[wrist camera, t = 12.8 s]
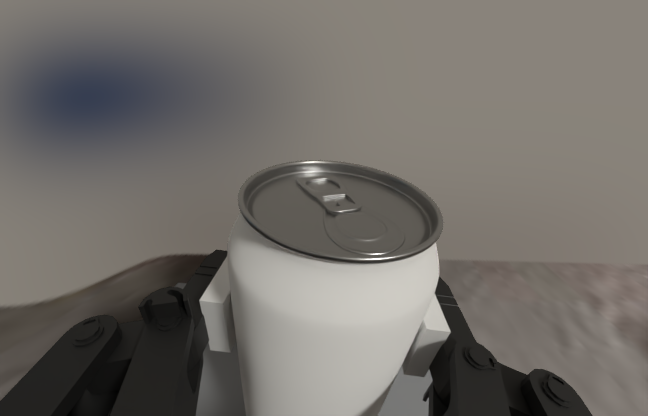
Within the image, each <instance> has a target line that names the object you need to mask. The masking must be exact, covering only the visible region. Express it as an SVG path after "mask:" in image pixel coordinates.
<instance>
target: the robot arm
mask: <svg viewBox="0 0 648 416" xmlns="http://www.w3.org/2000/svg"><path fill="white" fill-rule="evenodd" d="M453 297H454V296H453V294H452V292H451V290H450V288H449V286H448V285H447V284H446V283H445V282H444V281H443V280H442V279H441V278H440V277H439V279H438V283H437V286H436V290H435V293H434V295H433V298H432V300H431V303H430V305H429V307H428V310H427V312H426V314H425V316H424V319H423V321H422V323H421V325H420V327H419V329H418V332H417V334H416V336H415V338H414V340H413V342H412V344H411V347H410V349H409V351H408V353H407V355H406V357H405V359H404V361H403V364H402V368H403V373H404V375H411V376H418V377H425V375H426V373H427V372H428V370H430V373H431V376H432V380H433V381H432V383H431V384H430V386H429V387H428V389H427V390H426V392H425V394H424V397H423V401H425V402H426V401H427V399H428V398H429V413H428V416H592V414H591V413H590V411H589V410H588V408H587V407H586V405H585V404H584V402H583V401H582V399H581V398H580V396H579V395H578V394H577V393H576V392H575V390H574V389H573V388H572V387H571V386H570V385H569V384H567V383H566V382H565V381H564V380H563V379H561V378H560V377H558V376H557V375H555V374H553V373H552V372H549V371H546V370H543V369H534V370H533V371H532V372H530V373H529V374H528V375H526V374H524V373H521V372H519V371H516V370H514V369H512V368H509V367H507V366H505V365H502V364H501V363H499V362H497V360H496V359H495V358H494V356H493V355H492V354H491V352H490V351H488V350H487V349H486V348H485V347H484V346H482V345H480V344H479V343H477V342H476V340H475V339H474V337H473V335H472V333H471V331H470V329H469V327H468V324H467V322H466V320H465V318H464V316H463V314H462V312H461V310H460V308H459V307H458V304H457V302H456V300H455V298H453ZM138 308H139V310H140V312H141V315H142V317H143V320H140V321H133V322H127V323H121V324H118V322H117V321H116V320H115V318H114V317H113V316H108V315H99V316H94V317H91V318H88V319H85V320H84V321H82V322H80V323H78V324H76V325H75V326H73V327H72V328H71V329H70V330H69V331H67V332H66V333H65V334H64V335H63V336H62V337H61V338H60V339H59V340H58V341H57V342H56V343H55V344H54V346H53V347H52V348H51V349H50V350H49V351H48V352H47V353H46V354H45V355H44V356H43V357H42V358H41V359H40V360H39V361H38V362H37V363H36V364H35V365H34V366H33V368H32V369H31V370H30V371H29V372H28V373H27V374H26V375H25V376H24V377H23V378H22V379H21V380H20V381H19V382H18V383H17V384H16V385H15V386H14V387H13V388H12V389H11V391H10V392H9V393H8V394H7V395H6V396H5V397H4V398H3V399H2V400H1V401H0V416H196V410H197V403H198V396H199V389H200V382H201V376H202V369H203V362H204V361H203V352H204V350H205V348H206V346H207V344H208V342H209V346H210V350H213V351H221V352H229V353H231V350H232V348H233V345H234V343H235V340H236V334H235V326H234V318H233V309H232V301H231V292H230V283H229V274H228V262H227V251H222V250H215V251H214V252H213V253H211V254H210V255H208V256H207V257H206V258H205V259H204V261H203V262H202V264H201V265H200V267H199V268H198V269H197V270H196V272H195V274H194V275H193V276H192V277H191V279H190V280H189V281H188V283H187V284H186V285H185V287H184V288H183V289H182V288H179V287H167V288H163V289H159V290H157V291H155V292H153V293H151V294H150V295H149V296H147V297H146V298H145V299H144V300H143V301H142V302H141V304H140V305H139V307H138Z"/></svg>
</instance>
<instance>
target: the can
mask: <svg viewBox="0 0 648 416" xmlns="http://www.w3.org/2000/svg"><path fill="white" fill-rule="evenodd" d="M238 205H239V209H240V213H239V215H238V217H237V219H236V221H235V223H234V225H233V228H232V230H231V233H230V236H229V240H228V248H227V262H228V274H229V283H230V292H231V301H232V309H233V318H234V326H235V334H236V342H237V350H238V358H239V366H240V374H241V382H242V389H243V397H244V404H245V411H246V416H378V414H379V412H380V409H381V407H382V405H383V403H384V401H385V399H386V397H387V395H388V393H389V391H390V389H391V387H392V384H393V382H394V380H395V378H396V376H397V374H398V372H399V370H400V368H401V366H402V364H403V361H404V359H405V357H406V355H407V353H408V351H409V349H410V347H411V344H412V342H413V340H414V338H415V336H416V334H417V332H418V329H419V327H420V325H421V323H422V321H423V319H424V316H425V314H426V312H427V310H428V307H429V305H430V303H431V300H432V298H433V295H434V293H435V290H436V286H437V283H438V279H439V259H438V252H437V247H436V241H437V240H438V238H439V237H440V234H441V232H442V229H443V217H442V214H441V212H440V209H439V208H438V206H437V205H436V203H435V202H434V201H433V200H432V199H431V198H430V197H429V196H428V195H427V194H426V193H424V192H423V191H422V190H420V189H419V188H418V187H416V186H414V185H413V184H411V183H409V182H407V181H405V180H403V179H401V178H399V177H397V176H394V175H392V174H389V173H386V172H384V171H380V170H377V169H374V168H370V167H366V166H362V165H357V164H351V163H344V162H336V161H320V160H318V161H317V160H315V161H296V162H289V163H283V164H279V165H275V166H272V167H268V168H266V169H263V170H261V171H259V172H257V173H255V174H254V175H252V176H251V177H250V178H248V180H246V181H245V183H244V184H243V185H242V187H241V188H240V191H239V194H238Z"/></svg>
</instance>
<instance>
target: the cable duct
mask: <svg viewBox="0 0 648 416" xmlns="http://www.w3.org/2000/svg"><path fill="white" fill-rule="evenodd" d="M185 285H186V283H177V285H176V286H175V287H179V288H182V289H183V288H184V287H185ZM203 361H204V362H203V369H202V376H201V382H200V389H199V396H198V403H197V410H196V416H246V411H245V404H244V397H243V389H242V382H241V374H240V366H239V358H238V350H237V342H236V340H235V343H234V345H233V348H232V350H231V353H229V352H221V351H213V350H210V346H209V342H208V344H207V346H206V348H205V350H204V352H203ZM432 381H433V380H432V376H431V373H430V370H428V372H427V373H426V375H425V377H418V376H411V375H404V373H403V368H402V366H401V368H400V370H399V372H398V374H397V376H396V378H395V380H394V382H393V384H392V387H391V389H390V391H389V393H388V395H387V397H386V399H385V401H384V403H383V405H382V407H381V409H380V412H379V414H378V416H428V413H429V398H428V399H427V401H426V402H425V401H423V397H424V394H425V392H426V390H427V389H428V387H429V386H430V384H431V383H432Z"/></svg>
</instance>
